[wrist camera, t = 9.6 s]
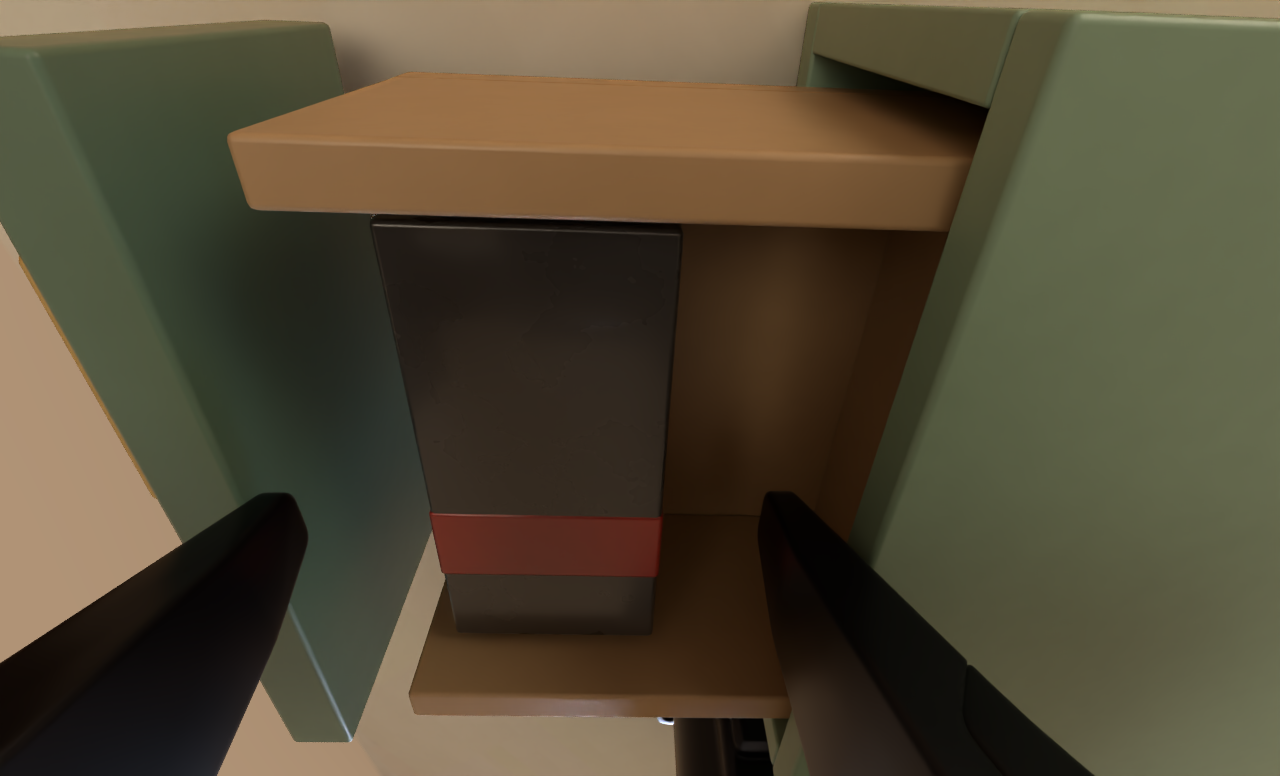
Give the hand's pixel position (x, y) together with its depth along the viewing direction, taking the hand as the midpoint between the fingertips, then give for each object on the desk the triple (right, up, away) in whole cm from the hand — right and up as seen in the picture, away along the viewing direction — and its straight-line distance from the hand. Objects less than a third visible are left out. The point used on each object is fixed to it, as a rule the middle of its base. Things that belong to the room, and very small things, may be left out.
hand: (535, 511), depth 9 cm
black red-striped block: (0, +3, +4) cm, 5 cm away
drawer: (-1, +3, +5) cm, 6 cm away
